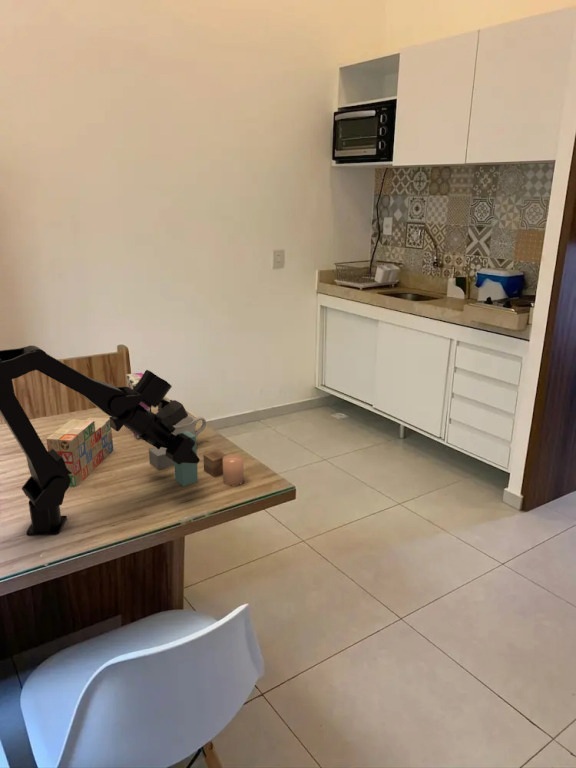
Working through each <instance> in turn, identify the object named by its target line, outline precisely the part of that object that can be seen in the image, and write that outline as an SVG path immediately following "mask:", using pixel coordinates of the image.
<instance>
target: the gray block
mask: <svg viewBox="0 0 576 768" xmlns="http://www.w3.org/2000/svg"><path fill="white" fill-rule="evenodd" d="M166 449H167V448H163V447H161V448H160V449H157V448H156V447H153V448H152V447H151V448H149V449H148V457H149V458H148V459H149V464H151V466H153V467H154V468H155V469H156V470H157V471H161V470H163V469H166V468H171V467H174V461H173V460H171V459H170V458H168V457H167V456H166Z"/></svg>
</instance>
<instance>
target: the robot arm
mask: <svg viewBox="0 0 576 768" xmlns="http://www.w3.org/2000/svg"><path fill="white" fill-rule="evenodd" d="M35 371H38V372H40V373H42V374H43V375H46V376H47V377H49V378H51V379H52V380H54V381H56V382H59V383H60V384H62V385H64V386H65V387H68V388H69V389H71V390H72V391H75V392H76V393H78V394H80V395H82V396H83V397H84V398H85V399H86V400H88V401H89V402H90V403H91V404H92V405H93V406H95V407H96V408H97V409H99V410H100V411H102V412H103V413H104V414H106V415H107V416H109V419H110V427H111V429H113V430H114V431H116V432H119V431H120V430H121V429H122V428H123V427H125V428H127V429H128V430H130V432H132V433H133V432H134V433H135V434H137V435H138V436H139V437H140V438H139V439H141V440H142V441H145V442H146V443H148V444H150V446H153V448H157V449H160V448H161V447H163V448H167V449H166V456H167V457H168V458H170V459H171V460H173V461H174V462H175V463H177V464H178V465H179V464H181V463H196V464H197V465H198V464H199V462H200V461H201V459H200V458H199V457H198V454H197V455H196V454H195V452H194V451H193V450H192V448H193V446H194V445H195V441H194V440H192V439H191V438H190V437H188V436H186V435H185V434H183V433H180V434H177V435H176V436H175V435H173V434H172V433H173V432H174V430H175V429H176V428H175V427H173V426H174V425H176V424H177V423H178V422H180V421H181V420H182V419H185V418H186V417H187V416H188V415H189V413H188V411H187V410H186V408H185V406H184V404H183V403H181V402H179V401H178V400H175V399H174V400H173V399H170V400H169V401H168V400H166V399H165V396H166V395H167V394H168V393H169V391H170V390H171V389H172V386H173V385H172V384H170V383H169V382H168V381H166V379H163V378H161V377H159V376H158V375H157V374H155V373H154V372H153V371H151V370H150V369H149V370H148V369H146V370H145V371H144V373H142V374H143V376H142V378H141V379H140V380H139V382H138V383H137V384H136V386H135V387H134V388H133V389H131V388H130V387H128V386H127V385H126V386H115V385H113V384H111V383H108V382H105V381H102V380H99V379H94V378H91V377H89V376H86V375H85V374H83V373H82V372H80V371H77V370H76V369H75V368H72V367H71V366H69V365H67V364H66V363H64V362H62V361H60V360H59V359H57V358H55V357H53V356H51V355H50V354H48V353H47V352H46V351H44V350H43V349H41V348H40V347H38V346H36V345H28V346H23V347H19V348H12V349H10V348H9V349H2V350H1V349H0V416H1V418H3V420H4V422H5V424H6V425H7V427H8V429H9V430H10V432H11V434H12V436H13V437H14V438H15V441H16V442H17V443H18V445H19V447H20V449H21V450H22V452H23V453H24V455H25V457H26V462H27V468H28V470H29V473H30V477H29V478H28V480H26V482H25V483H24V485H23V486H22V487H21V490H22V492H23V493H24V495H25V496H26V497H27V498H28V499H29V500H28V507H29V517H30V525H29V527H28V528H27V530H26V532H25V534H26V535H27V536H35V535H36V536H41V535H42V536H43V535H58V534H60V532H61V530H62V528H63V526H64V525H65V523H66V521H67V520H68V517H67V515H62V514H61V513H62V512H61V507H60V506H61V505H63V502H64V498H65V495H66V492H67V490H68V489H69V488H70V486H69V485H70V483H71V479H70V476H69V475H68V474H72V472H71V471H70V470H68V469H67V468H66V465H65V462H64V459H63V458H62V457H61V456H60V455H59V454H58V453H57V452H56V451H55V450H54V449H51V450H50V451H49V452H48V449H47V447H46V446H45V444H44V443H43V441H42V440H41V438H40V436H39V434H38V433H37V431H36V429H35V427H34V426H33V424H32V422H31V421H30V419H29V417H28V415H27V414H26V412H25V410H24V408H23V406H22V405H21V403H20V401H19V399H18V398H17V396H16V393H15V388H14V383H13V380H14V379H18V378H20V377H22V376H24V375H27V374H28V373H31V372H35ZM140 402H142V403H143V404H145V405H146V406H148V407H149V408H151V409H152V407H153V408H155V409H156V407H157V412H156V413H154V412H152V411H151V412H149V411H148V410H147V409H145V408H144V407H143V406H141V405H140ZM171 432H172V433H171ZM134 433H133V434H134Z"/></svg>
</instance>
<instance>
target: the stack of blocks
mask: <svg viewBox="0 0 576 768" xmlns="http://www.w3.org/2000/svg"><path fill="white" fill-rule="evenodd" d="M112 429H113V428H111V427H110V418H108V417H107V418H106V417H87V418H86V419H74V418H73V419H70V420H69V421H67V422H66V423H65V424H63V425H62V426H61V427H60V428H58V429H57V430H56V431H55V432H53V433H52V434H50V435H49V436H48V437H46V448H47V451H48V452H49V451H50V450H51V449H54V450H55V451H56V452H57V453H58V454H59V455H60V456H61V457H62V458H63V459H64V462H65V465H66V468H67V469H68V470H70V471H71V472H72V474H68V475H69V476H70V479H71V483H70V485H69V487H77V486H78V485H79V484H81V482H82V481H84V480H85V479H86V478H87V477H88V476H89V475H90V474H91V473H92V472H93V471H94V470H95V468H97V466H99V464H101V462H102V461H104V459H106V458H107V457H108V455H109V454H111V453H112V452H113V451H114V443H113V430H112Z"/></svg>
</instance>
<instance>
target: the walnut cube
mask: <svg viewBox="0 0 576 768" xmlns="http://www.w3.org/2000/svg"><path fill="white" fill-rule="evenodd" d="M226 455H227V454H226V453H224V452H223V451H221V450H219V449H218V450H215V451H211V452H207V453H205V454H203V455H202V456H203V457H202V459H203V471H204V472H205V473H207V474H208V475H210V476H211V477H213V478H215V477H218V476H221V475H223V457H224V456H226Z"/></svg>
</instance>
